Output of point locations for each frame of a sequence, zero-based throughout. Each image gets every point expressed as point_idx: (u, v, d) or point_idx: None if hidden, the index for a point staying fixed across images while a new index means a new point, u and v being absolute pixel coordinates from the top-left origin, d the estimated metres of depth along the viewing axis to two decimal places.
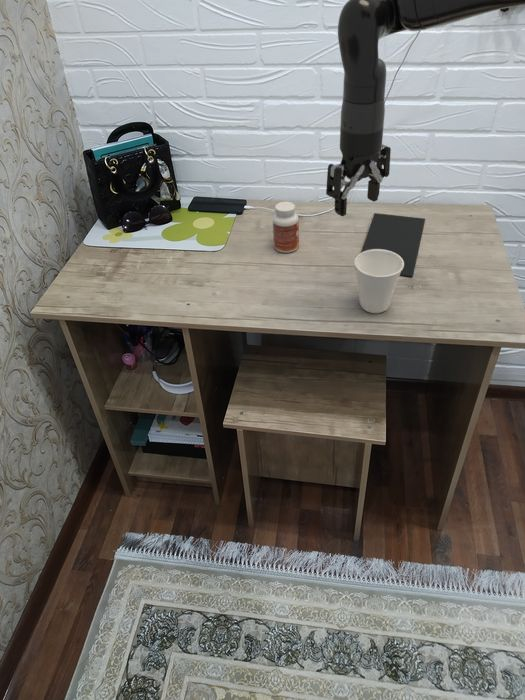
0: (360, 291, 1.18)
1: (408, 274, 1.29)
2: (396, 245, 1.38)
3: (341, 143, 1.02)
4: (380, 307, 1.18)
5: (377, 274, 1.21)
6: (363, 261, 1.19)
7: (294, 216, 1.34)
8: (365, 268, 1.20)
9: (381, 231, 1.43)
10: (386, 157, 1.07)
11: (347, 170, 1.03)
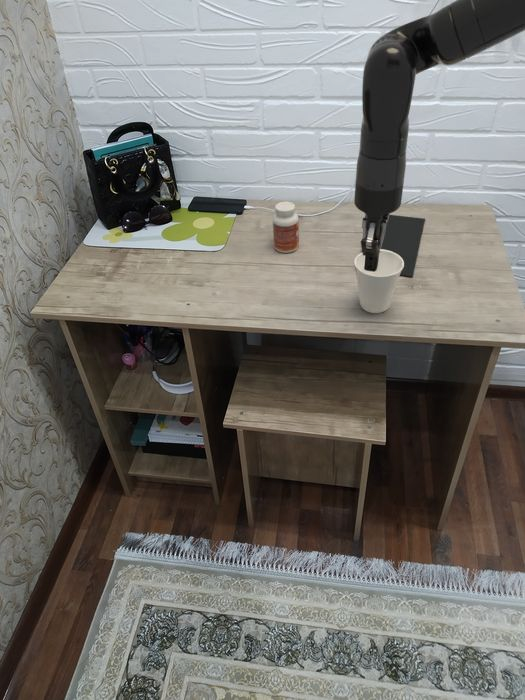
0: (360, 291, 1.18)
1: (408, 274, 1.29)
2: (396, 245, 1.38)
3: (365, 204, 0.90)
4: (380, 307, 1.18)
5: (377, 274, 1.21)
6: (363, 261, 1.19)
7: (294, 216, 1.34)
8: None
9: None
10: None
11: (377, 230, 0.92)
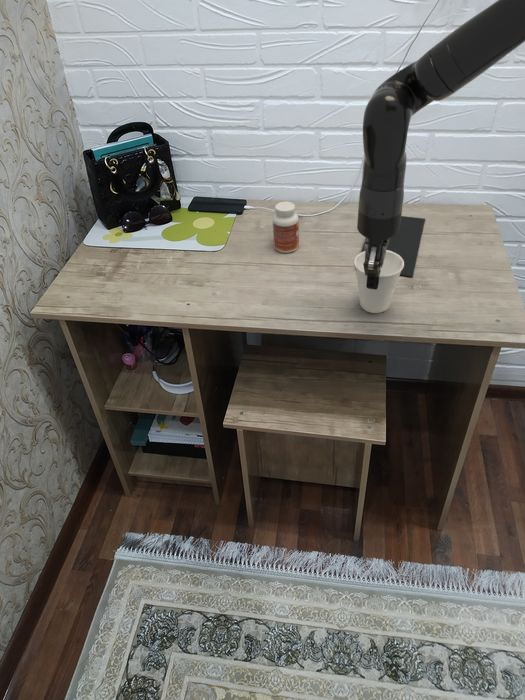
0: (360, 291, 1.18)
1: (408, 274, 1.29)
2: (396, 245, 1.38)
3: (367, 230, 0.99)
4: (380, 307, 1.18)
5: None
6: (363, 261, 1.19)
7: (294, 216, 1.34)
8: None
9: None
10: None
11: (378, 253, 1.01)
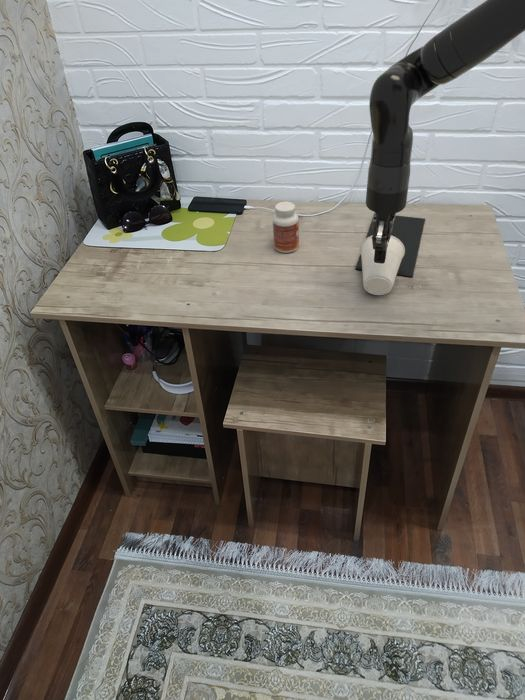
0: (366, 261, 1.23)
1: (408, 274, 1.29)
2: None
3: (375, 205, 1.05)
4: (386, 270, 1.20)
5: None
6: None
7: (294, 216, 1.34)
8: None
9: None
10: None
11: (385, 227, 1.07)
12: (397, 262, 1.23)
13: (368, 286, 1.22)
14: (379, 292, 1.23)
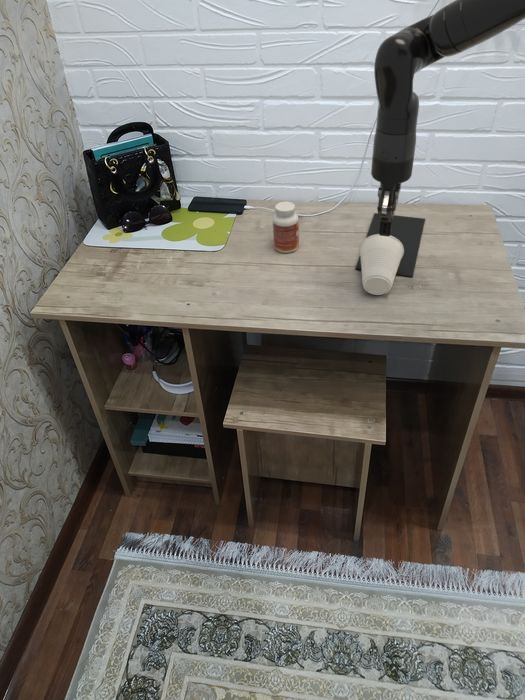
0: (365, 262, 1.23)
1: (408, 274, 1.29)
2: None
3: (381, 174, 1.05)
4: (385, 270, 1.20)
5: None
6: None
7: (294, 216, 1.34)
8: None
9: None
10: None
11: (391, 197, 1.07)
12: (396, 261, 1.23)
13: (367, 286, 1.22)
14: (379, 292, 1.23)
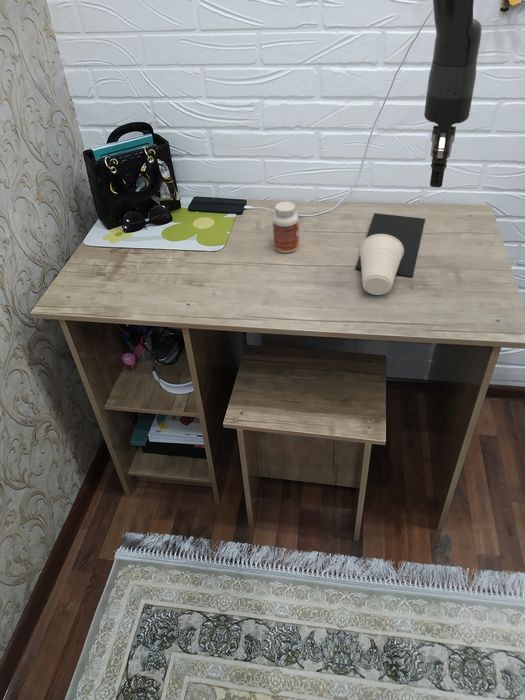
0: (365, 262, 1.23)
1: (408, 274, 1.29)
2: None
3: (437, 114, 0.96)
4: (385, 270, 1.20)
5: None
6: None
7: (294, 216, 1.34)
8: None
9: (381, 231, 1.43)
10: None
11: (447, 140, 0.98)
12: (396, 261, 1.23)
13: (367, 286, 1.22)
14: (379, 292, 1.23)
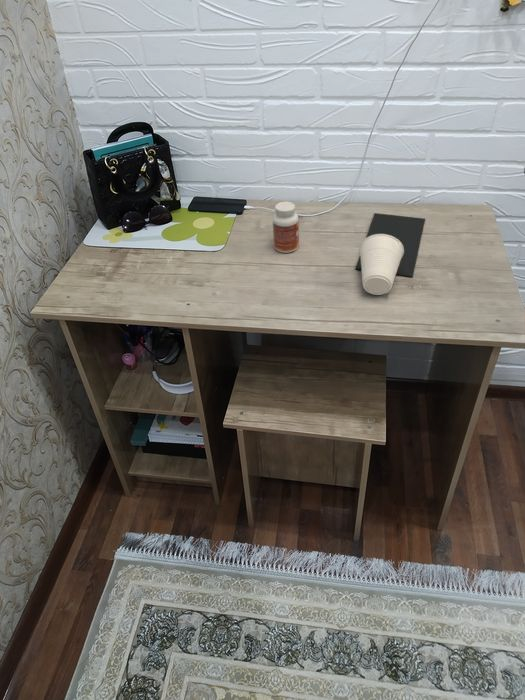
0: (365, 262, 1.23)
1: (408, 274, 1.29)
2: None
3: None
4: (385, 270, 1.20)
5: None
6: None
7: (294, 216, 1.34)
8: None
9: (381, 231, 1.43)
10: None
11: None
12: (396, 261, 1.23)
13: (367, 286, 1.22)
14: (379, 292, 1.23)
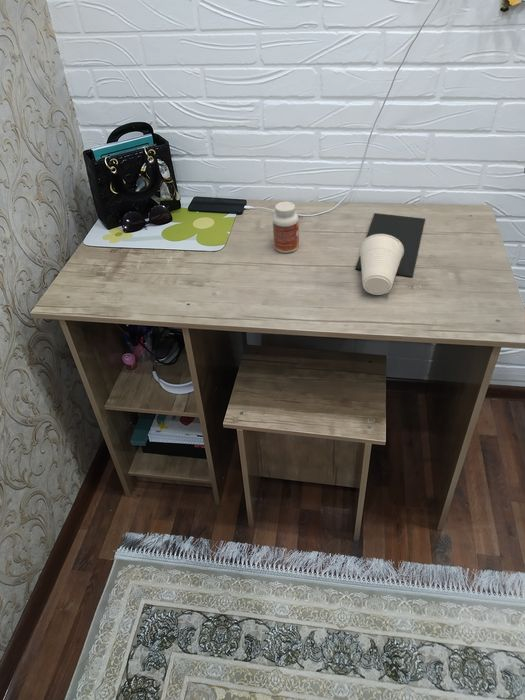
0: (365, 262, 1.23)
1: (408, 274, 1.29)
2: None
3: None
4: (385, 270, 1.20)
5: None
6: None
7: (294, 216, 1.34)
8: None
9: (381, 231, 1.43)
10: None
11: None
12: (396, 261, 1.23)
13: (367, 286, 1.22)
14: (379, 292, 1.23)
